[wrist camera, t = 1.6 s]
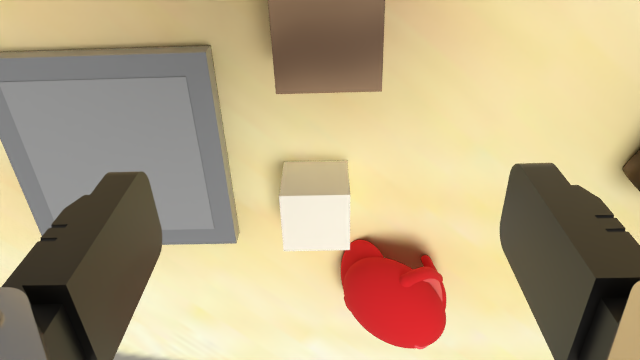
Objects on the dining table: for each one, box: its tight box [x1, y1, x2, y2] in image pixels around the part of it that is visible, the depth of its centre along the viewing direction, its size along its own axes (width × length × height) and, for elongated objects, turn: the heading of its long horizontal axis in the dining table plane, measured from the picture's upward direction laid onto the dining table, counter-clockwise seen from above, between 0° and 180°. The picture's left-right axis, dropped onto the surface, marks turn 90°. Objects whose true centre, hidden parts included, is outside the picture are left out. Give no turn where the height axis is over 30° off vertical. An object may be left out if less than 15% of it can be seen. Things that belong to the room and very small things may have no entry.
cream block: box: [279, 160, 350, 251], centre depth 30 cm, size 4×4×4 cm
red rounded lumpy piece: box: [341, 240, 446, 349], centre depth 33 cm, size 8×6×6 cm
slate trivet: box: [0, 46, 239, 245], centre depth 30 cm, size 13×13×1 cm
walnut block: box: [268, 0, 385, 94], centre depth 24 cm, size 5×5×5 cm
